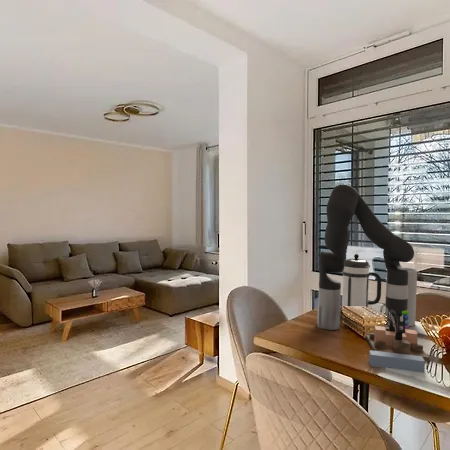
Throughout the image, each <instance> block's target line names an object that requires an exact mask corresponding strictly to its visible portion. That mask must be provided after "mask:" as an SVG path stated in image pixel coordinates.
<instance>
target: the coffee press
mask: <svg viewBox="0 0 450 450" xmlns="http://www.w3.org/2000/svg"><path fill="white" fill-rule="evenodd" d="M353 257H354V258H348V259H346V260H345V267H344V270H343V271H342V296H341V299H342V300H341V305H342V306H340V311H341V309H342V310H343V306H366V307H368V308H369V305H377V304H378V303H379V302H380V300H381V297H382V279H381V276H380V275H379V274H378V273H376V272H373V271H372V272H371V271H370V268H371V265H370V263H369V262H368V261H367V260H366V259H361V258H359V257H360V255H359V254H357V253H355V254H354V255H353ZM370 277H375V279H376V284H377V285H376V298H375V299H374V300H369V286H370V285H369V282H370V281H369V280H370Z"/></svg>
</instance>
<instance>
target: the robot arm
mask: <svg viewBox="0 0 450 450" xmlns="http://www.w3.org/2000/svg"><path fill="white" fill-rule="evenodd" d="M326 204H327V205H326V220H327V224H326V226H325V233H324V244H325V246H326V248H327V249H328V250H329V251H328V250H325V251H321V252H320V253H319V257H318V267H319V268H318V270H319V271H318V273H319V274H318V275H319V276H318V277H319V278H318V279H319V280H318V299H317V300H318V301H317V321H316V323H317V328H318V329H319V328H320V329H323V330H331V331H333V330H334V331H335V330H339V329H340V325H341V319H340V318H341V310H340V309H341V294H342V293H341V292H342V290H341V289H342V286H341V285H342V284H341V282H340V281H338V280H337V279H334V278H332V277H330V276H329V275H328V273H331V274H333V273H334V274H339V273H340V274H341V273H343V270H344V267H345V260H347V259H346V258H347V251H348V246H349V242H350V237H351V229H350V228H349V226H350V223H351V220H352V218H353V217H354V215H355V217H356V219H357V220H358V222H359V224H360V226H361V228H362V231H363V233H364V234H365V236H366V237H367V238H368V240H370V241H371V242H372V243H373V244H374V245H375V246H377V248H379V249H381V250H383V252H382V255H383V260H384V265H385V268H386V277H387V286H386V285H385V303H384V307H385V306H386V308H388V315H387V321H388V323H387V324H388V327H389V331H391V332H395V340H402V333H405V316H403V315H402V311H405V310H407V309H408V271H407V270H406V269H404V268H405V267H404V268H402V267H403V266H401V263H408V262H411V261H412V260H413V259H414V257H415V249H414V248H413V246H412V245H411V244H410V243H409V242H408V241H406V240H405V239H404V238H402V237H400V236H398V235H397V234H394V233H393V231H391V230H390V229H389V228H388V227H386V225H385V224H383V223H382V221H381V220H380V219H378V217H377V216H376V215H375V213H374V212H373V210H371V208H370V207H369V206H368V204H367V203H366V202H365V200H364V199H363V197H362V196H361V195H360V194H359V192H358V191H357V190H356V189H355V188H354V187H353V186H351V185H348V184H338V185H336V186H334V188H333V189H332V190H331V192H330V196H329V199H328V201H327V203H326ZM399 327H400V328H401V329H399Z"/></svg>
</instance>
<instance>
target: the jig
mask: <svg viewBox="0 0 450 450" xmlns="http://www.w3.org/2000/svg"><path fill="white" fill-rule="evenodd" d="M381 327H385V330H386V331H389V326H384V325H381ZM368 334H369V335H366V337H365V339H366V341H367V342H368V345H369V347H370V348H371V350H372V351H380V352H388V353H397V354H405V355H413V356H422V357H423V359H424V361H425V362H430V356H429V354H427V353H426V352H425V350H424V345H423V344H418V343H417V344H411V348H410V343H409V342H408V341H406V340H394V339H392V346H387V345H386V343H385V342H383V341H374V332H369V333H368Z"/></svg>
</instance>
